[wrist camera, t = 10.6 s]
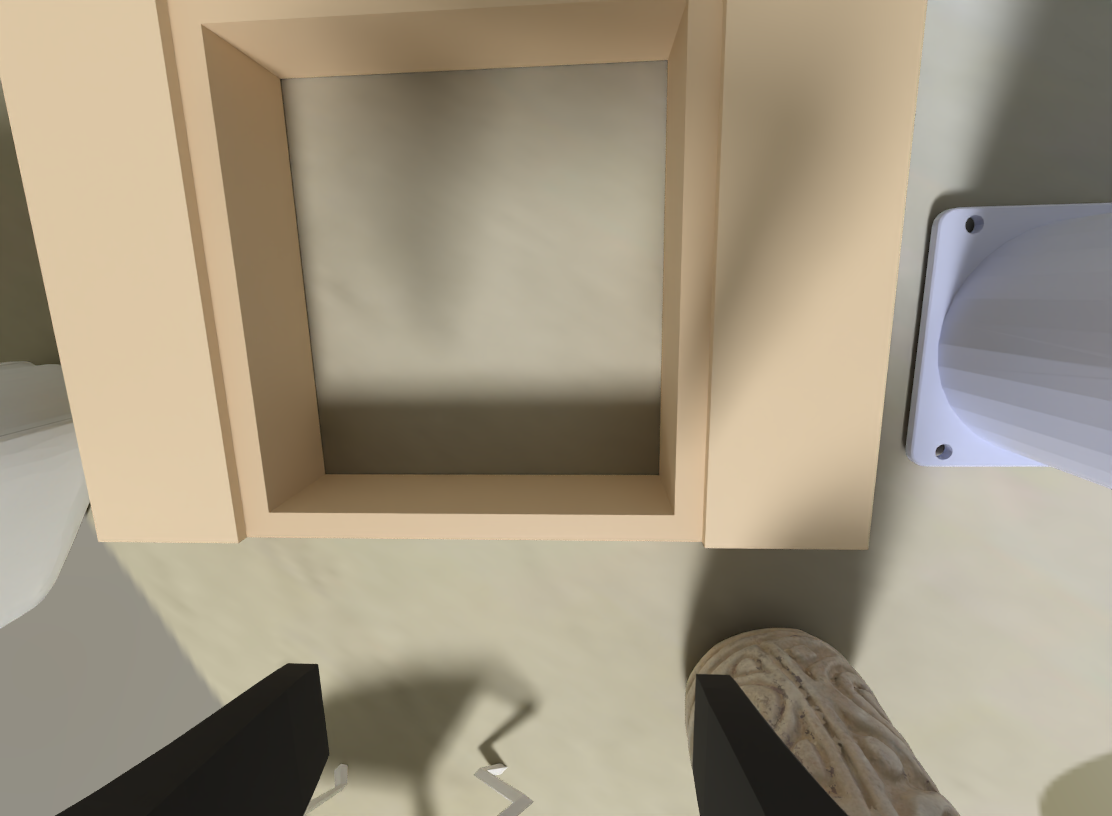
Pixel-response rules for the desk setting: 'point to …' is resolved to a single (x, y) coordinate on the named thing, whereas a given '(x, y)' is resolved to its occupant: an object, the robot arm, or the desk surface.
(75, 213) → the carton
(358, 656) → the desk surface
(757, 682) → the carving
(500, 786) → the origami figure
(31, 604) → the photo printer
